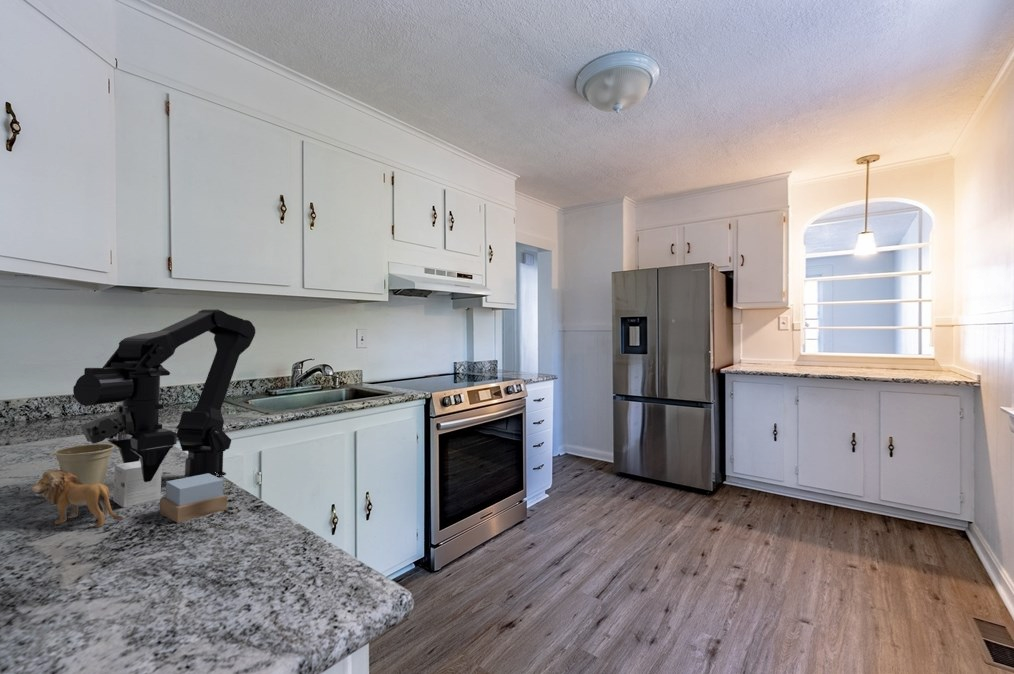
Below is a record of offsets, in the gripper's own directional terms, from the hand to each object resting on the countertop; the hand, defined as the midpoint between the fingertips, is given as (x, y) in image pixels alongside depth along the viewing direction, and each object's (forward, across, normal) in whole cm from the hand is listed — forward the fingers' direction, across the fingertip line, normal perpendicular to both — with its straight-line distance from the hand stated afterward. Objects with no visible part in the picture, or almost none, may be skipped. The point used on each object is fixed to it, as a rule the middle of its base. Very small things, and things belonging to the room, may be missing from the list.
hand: (138, 477), depth 88 cm
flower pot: (+5, -17, -4) cm, 18 cm away
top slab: (+2, +15, +4) cm, 15 cm away
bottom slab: (+5, +15, +4) cm, 16 cm away
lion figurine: (+5, +5, -10) cm, 12 cm away
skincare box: (+5, 0, 0) cm, 5 cm away
